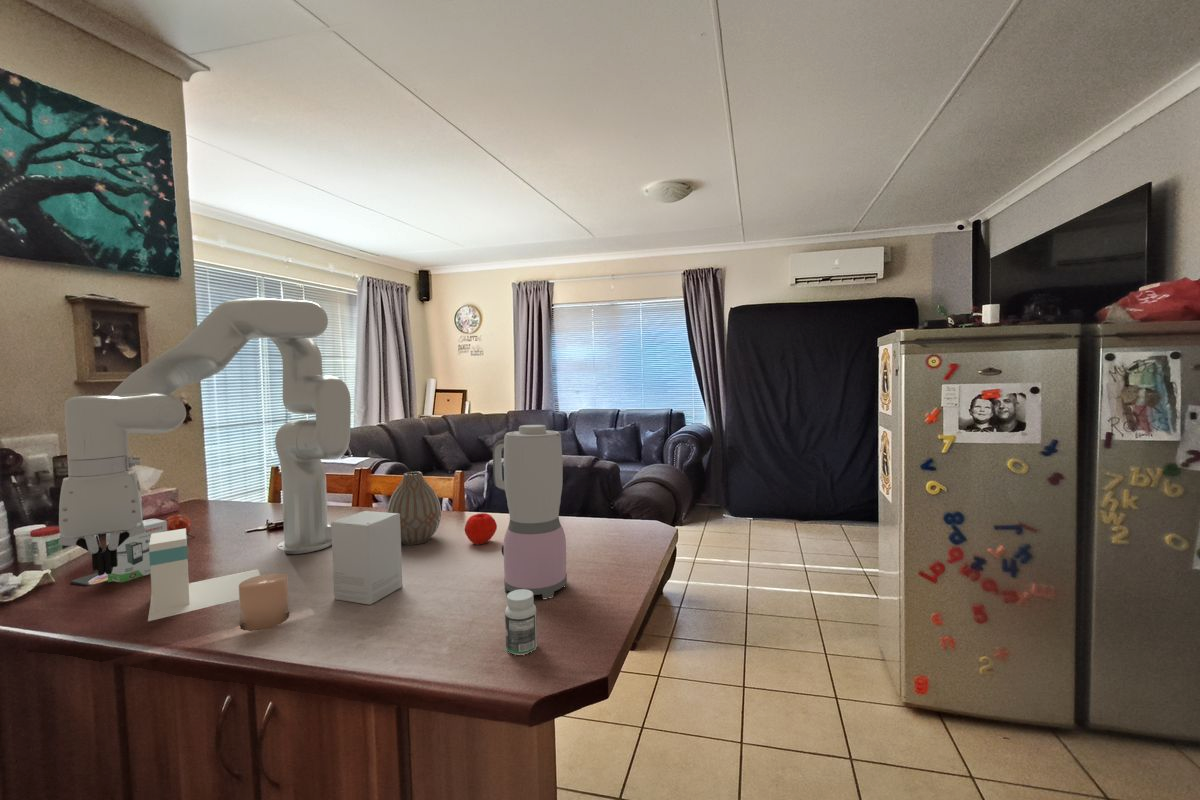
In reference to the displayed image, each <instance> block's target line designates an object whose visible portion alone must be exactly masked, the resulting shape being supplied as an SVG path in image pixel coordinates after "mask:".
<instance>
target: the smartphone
mask: <svg viewBox="0 0 1200 800" xmlns="http://www.w3.org/2000/svg"><path fill="white" fill-rule="evenodd" d="M70 583H71V585H76V586H82V587H91V586H96V585H101V584H105V583H106V584H107V583H109V582H108V574H103V575H101V576H98V572H95V573H92V574H89V575H85V576H81V577H79V578H76V579H73V580H71V582H70Z"/></svg>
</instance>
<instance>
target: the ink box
mask: <svg viewBox="0 0 1200 800" xmlns="http://www.w3.org/2000/svg"><path fill="white" fill-rule="evenodd" d="M164 520H165V519H163V520H162V519H159V518H149V519H144V520H142V521H143V523H144V526H145V532H144V533H141V534H138V535H135V536H132V537H129V538H127V539H126V540H125V541H124V542H123V543H122V544H121V545H120V546H119V547H118V548H117V558H118V566H117V567H113V571H112V573H111V574H108V582H107V583H111V582H116V583H124V582H128V581H131V580H135V579H138V578H141V577H144V576H148V575H151V571H150V560H149V543H150V538H151V534H153V533H159V532H166V531H167V521H164ZM121 532H123V531H121ZM109 538H110V533H106V534H105V542H106V546H107V545H108V544H109Z"/></svg>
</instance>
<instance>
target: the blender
mask: <svg viewBox="0 0 1200 800" xmlns="http://www.w3.org/2000/svg"><path fill="white" fill-rule="evenodd" d="M503 438H504V439H500V440H498V441H496V442H495V444H494V445H493V448H492V469H493V483H494V485H495V487H496V488H498V489H499V490H502V491H504V492H505V497H506V502H507V503H506V505H507V508H508V514H509V524H508V525H507V526H508V527H507V529H506V532H505V533H504V537H503V545H502V546H501V555H502V556H503V569H504V570H503V571H504V572H503V574H504V578H503V580H504V581H503V582H504V585H503V586H504V592H505V591H507V592H512V591H514V590H519V589H526V590H530V591H532V592H533V596H536V595H541V598H549V597H552V596H553V597H554V594H555V592H556V591H558V590H560V589H562V588H563V587H564V586H565V587H566V588H567V583H568V582H567V581H568V577H567V575H568V574H567V541H566V540H567V539H566V534H565V531H564V529H563V526H562V524H561V522H560V516H559V515H560V514H559V513H560V506H561V500H562V499H561V498H562V491H563V483H564V482H563V480H564V479H563V477H564V476H563V474H564V473H563V470H564V469H563V467H564V466H563V463H564V462H563V449H562V447H563V445H562V434H561V433H560V432H559V431H557V430H549V429H548V430H547V427H546V425H545V424H523V425H520V426H519V427H518V430H517V431H516V430H515V431H509V432H506V433H505V434H504V437H503ZM502 450H503V461H502ZM502 462H503V465H502ZM502 467H503V469H502Z"/></svg>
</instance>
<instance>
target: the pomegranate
mask: <svg viewBox="0 0 1200 800" xmlns="http://www.w3.org/2000/svg"><path fill="white" fill-rule="evenodd" d="M163 520H164V521H167V531H172V530H178V529H185V528H186V535H187V537H190V538H194V539H195V538H196V537H195V536H194V535H191V534H189V533H190V531H191V528H192V522H191V519H190V518H189V517H188V516H187V515H185V514H173V515H170V516H168V517H167V518H164V519H163Z"/></svg>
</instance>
